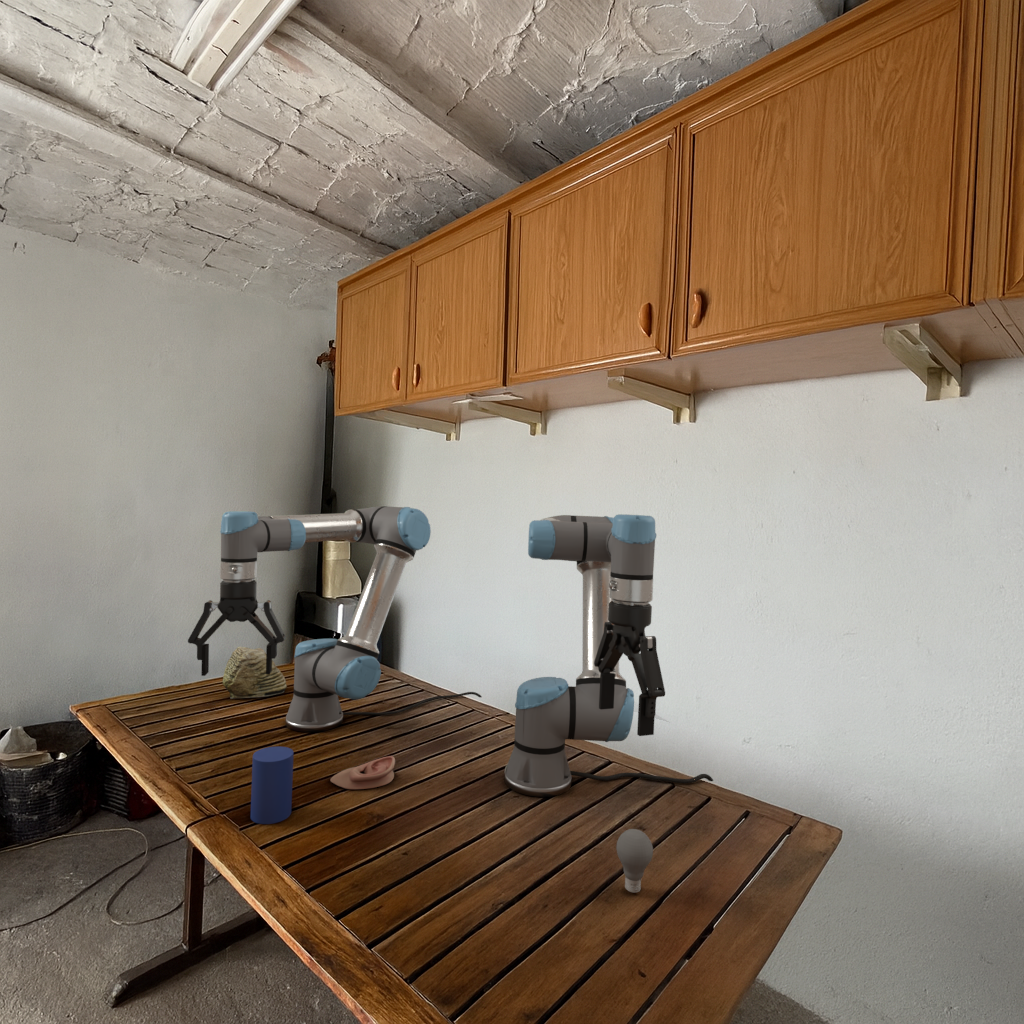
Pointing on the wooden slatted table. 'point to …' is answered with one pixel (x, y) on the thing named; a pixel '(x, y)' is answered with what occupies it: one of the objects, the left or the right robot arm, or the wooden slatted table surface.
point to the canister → (271, 785)
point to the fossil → (252, 675)
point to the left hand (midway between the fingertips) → (237, 673)
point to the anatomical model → (366, 774)
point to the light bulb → (634, 857)
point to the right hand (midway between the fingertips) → (624, 721)
